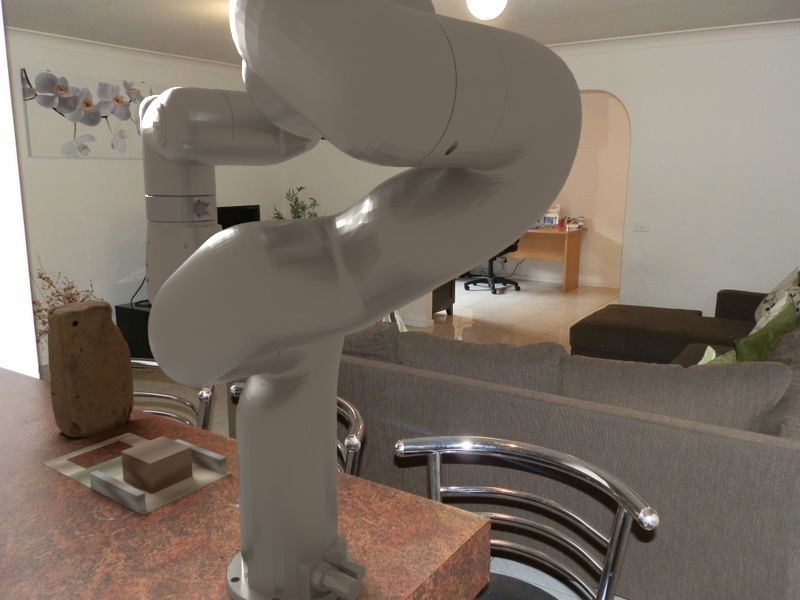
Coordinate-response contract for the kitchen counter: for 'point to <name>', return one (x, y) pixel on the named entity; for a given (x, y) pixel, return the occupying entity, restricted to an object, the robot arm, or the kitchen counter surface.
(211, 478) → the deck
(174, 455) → the walnut block
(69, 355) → the block
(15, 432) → the kitchen counter surface
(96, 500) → the kitchen counter surface
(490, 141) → the robot arm
